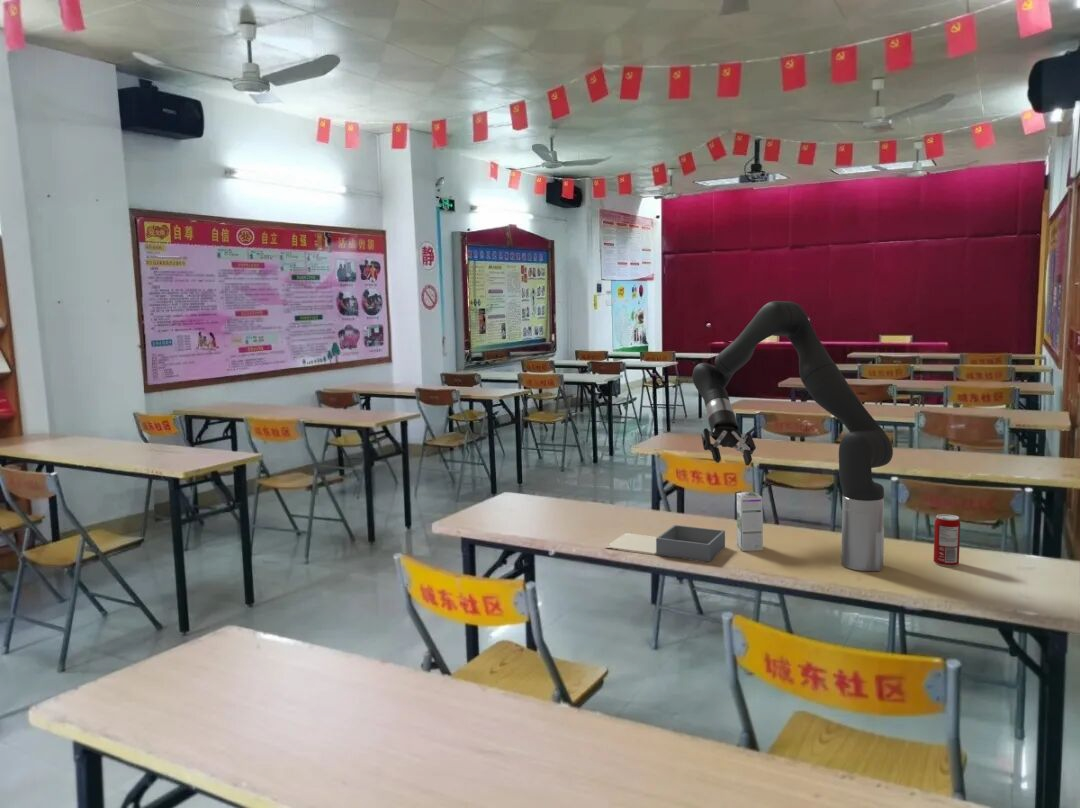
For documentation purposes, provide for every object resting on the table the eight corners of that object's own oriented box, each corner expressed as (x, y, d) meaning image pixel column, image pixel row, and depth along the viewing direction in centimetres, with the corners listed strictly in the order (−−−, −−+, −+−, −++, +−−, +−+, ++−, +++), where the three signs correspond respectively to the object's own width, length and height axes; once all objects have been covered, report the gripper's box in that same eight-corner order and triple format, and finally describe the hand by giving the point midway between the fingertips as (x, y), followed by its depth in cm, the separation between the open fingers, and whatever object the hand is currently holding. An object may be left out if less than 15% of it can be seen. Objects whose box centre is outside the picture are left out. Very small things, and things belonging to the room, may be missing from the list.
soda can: (946, 559, 195) (947, 511, 194) (964, 565, 190) (966, 517, 188) (928, 561, 193) (929, 514, 192) (945, 568, 188) (947, 519, 187)
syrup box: (763, 551, 205) (764, 496, 203) (740, 551, 205) (741, 497, 203) (757, 544, 211) (758, 491, 209) (735, 545, 211) (736, 492, 209)
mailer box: (724, 547, 209) (725, 530, 208) (709, 562, 197) (709, 544, 196) (625, 534, 223) (625, 519, 222) (605, 548, 211) (605, 531, 210)
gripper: (701, 406, 219) (713, 451, 208) (749, 411, 221) (763, 455, 210) (693, 424, 224) (704, 468, 213) (740, 428, 226) (753, 473, 215)
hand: (733, 462), depth 211 cm, fingers open, 8 cm apart
